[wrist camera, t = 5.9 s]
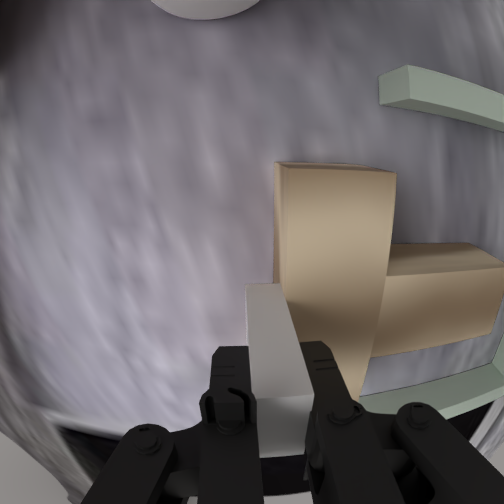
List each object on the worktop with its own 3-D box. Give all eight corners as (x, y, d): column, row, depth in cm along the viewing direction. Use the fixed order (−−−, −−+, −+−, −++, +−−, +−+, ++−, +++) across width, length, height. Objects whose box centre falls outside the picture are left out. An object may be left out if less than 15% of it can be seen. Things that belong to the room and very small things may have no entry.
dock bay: (378, 76, 12) (407, 64, 10) (548, 128, 13) (576, 132, 10) (344, 412, 19) (355, 443, 17) (495, 372, 20) (512, 391, 17)
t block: (274, 162, 14) (288, 168, 10) (476, 177, 14) (523, 189, 10) (270, 374, 18) (278, 424, 14) (439, 352, 18) (467, 386, 14)
